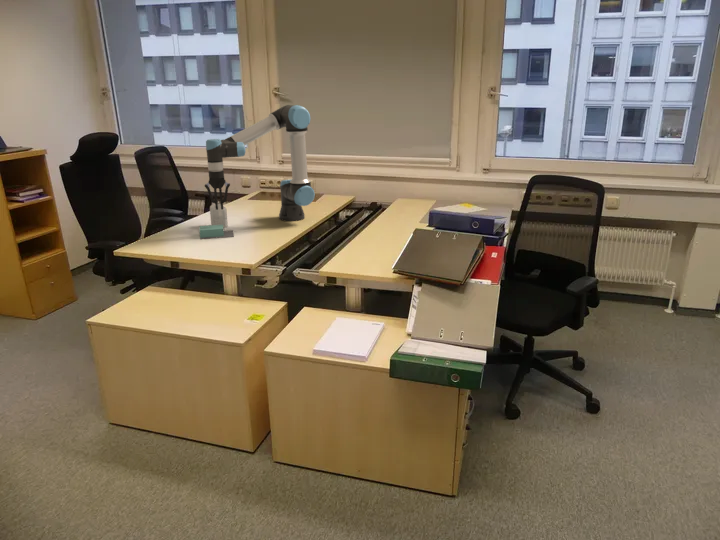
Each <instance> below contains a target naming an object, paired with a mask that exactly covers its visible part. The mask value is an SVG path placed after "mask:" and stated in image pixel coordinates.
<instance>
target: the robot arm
mask: <svg viewBox="0 0 720 540" xmlns="http://www.w3.org/2000/svg"><path fill="white" fill-rule="evenodd" d="M310 123H311V114H310V112H309V111H308V109H307V108H306V107H304V106H302V105H299V104H296V105H295V104H286V105H283V106H281V107H279V108H277V109H276V110H274V111H272V112H271V113H269V114H268V116H267V117H265V118H262V119H261V120H259V121H257V122H255V123H254V124H252V125H250V126H248V127H246V128H244V129H242V130H240V131H238V132H236V133H234V134H233V135H230V136H228V137H227V138H225V139H219V138H209V139H207V140H205V150H206V158H207V169H208V182H207V183H205V184H204V187H205V189H206V191H207V194H208V196H209V199H210V201H211V203H212V204H214V205H215V206H216V210H218V213H219V216H222V213H221V209H223V206H224V203H226V202H227V198H228V194H229V193H228V191H229V188H230V186H231V183H229V182H227V181H226V179H225V171H224V160H223V159H226V158H228V159H229V158H240V157H244V156H246V146H247V145H249V144H250V143H252V142H254V141H256V140H257V139H259V138H261V137H263V136H265V135H267V134H269V133H271V132H273V131H275V130H276V131H279V130H281V129H284V128H285V132H286V133H287V134H288V135H289V148H290V149H289V152H290V163H291V166H290V167H291V177H292V178H291V179H283V180H281V181H280V186H279V188H280V200H281V201H280V202H281V203H280V204H281V205H280V209H279V214H278V219H279V220H280V219H281V221H284V220H285V222H287V221H288V222H294V221H295V222H296V220H297V221H301V219H302V220H304V219H305V218H306V215H305V212H304V209H303V207H306V206H309V205H311V204H312V202H313V201H314V200H315V195H316V194H315V190H314V188H312V183H311V182H312V181H311V180H310V178H309V177H308V161H307V143H306V142H307V141H306V134H307V132H308V131H309V130H308V126H309V125H310ZM224 186H225V190H224V196H223V190H222V188H223V187H224ZM210 187H211V188H212V189H213V191H214V192H213V193H214V196H213V194H212V191H211V189H210ZM217 189H218V190H217ZM217 191H219V201H220V202H218V192H217Z"/></svg>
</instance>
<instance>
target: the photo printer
mask: <svg viewBox="0 0 720 540" xmlns="http://www.w3.org/2000/svg"><path fill="white" fill-rule="evenodd" d="M221 213H222V216H219V213H218V210H216V206H215V204H212V205H210V206H209V215H210V225H223V229H224V228H227V227H228V225H229V223H228V213H227V208H226V206H224V205H223V209H221Z"/></svg>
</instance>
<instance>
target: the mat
mask: <svg viewBox="0 0 720 540" xmlns="http://www.w3.org/2000/svg"><path fill="white" fill-rule="evenodd" d="M234 237H235V234H234V230H224V236H219V237H204V238H200V237H199V239H200V240H209V239H211V240H212V239H225V238H234Z"/></svg>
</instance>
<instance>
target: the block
mask: <svg viewBox="0 0 720 540" xmlns="http://www.w3.org/2000/svg"><path fill="white" fill-rule="evenodd" d="M224 231H225V230H224V228H223V225H211V224H209V225H199V239H200V238H204V237H219V236H224Z"/></svg>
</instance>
